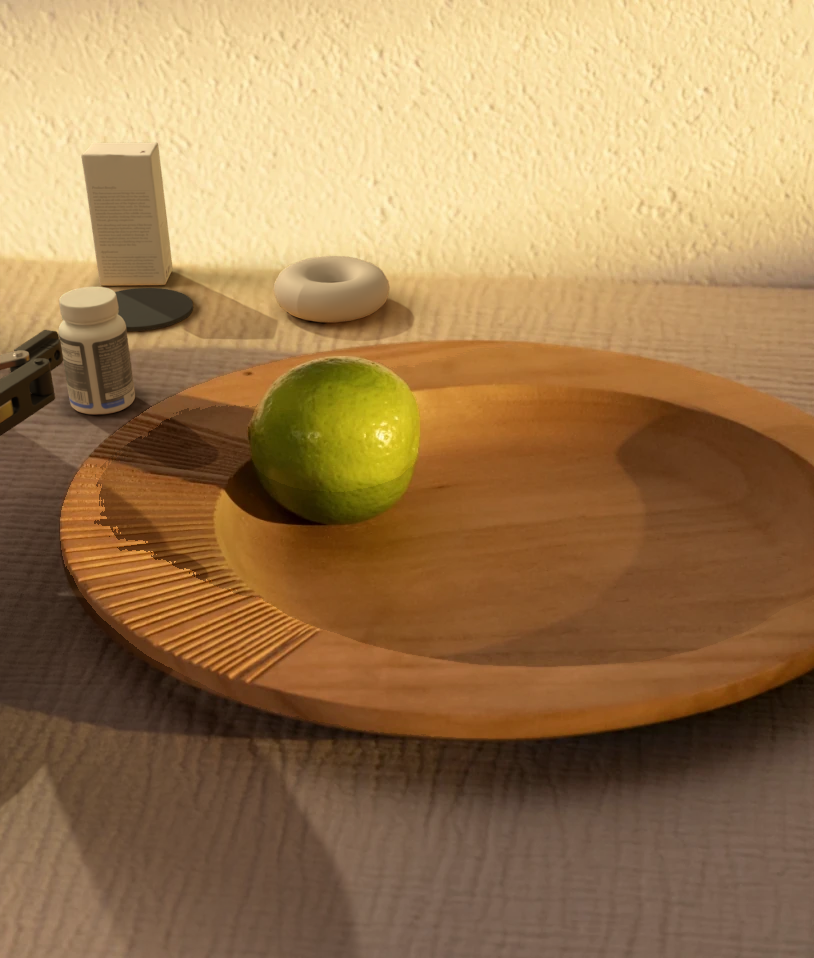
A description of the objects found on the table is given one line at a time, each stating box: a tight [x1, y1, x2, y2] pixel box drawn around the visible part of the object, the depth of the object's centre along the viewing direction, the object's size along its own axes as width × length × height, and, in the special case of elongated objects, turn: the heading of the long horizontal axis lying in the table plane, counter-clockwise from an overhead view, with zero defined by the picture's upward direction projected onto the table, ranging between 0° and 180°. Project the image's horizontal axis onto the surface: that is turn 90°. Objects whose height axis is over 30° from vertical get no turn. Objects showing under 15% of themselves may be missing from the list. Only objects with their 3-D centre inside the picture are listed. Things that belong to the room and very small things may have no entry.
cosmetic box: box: [80, 141, 174, 287], centre depth 118 cm, size 6×4×12 cm
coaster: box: [114, 287, 194, 332], centre depth 114 cm, size 9×9×1 cm
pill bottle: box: [58, 286, 136, 415], centre depth 96 cm, size 5×5×8 cm
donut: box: [273, 255, 391, 323], centre depth 115 cm, size 10×4×10 cm
